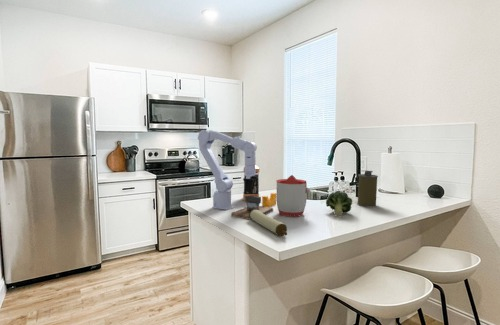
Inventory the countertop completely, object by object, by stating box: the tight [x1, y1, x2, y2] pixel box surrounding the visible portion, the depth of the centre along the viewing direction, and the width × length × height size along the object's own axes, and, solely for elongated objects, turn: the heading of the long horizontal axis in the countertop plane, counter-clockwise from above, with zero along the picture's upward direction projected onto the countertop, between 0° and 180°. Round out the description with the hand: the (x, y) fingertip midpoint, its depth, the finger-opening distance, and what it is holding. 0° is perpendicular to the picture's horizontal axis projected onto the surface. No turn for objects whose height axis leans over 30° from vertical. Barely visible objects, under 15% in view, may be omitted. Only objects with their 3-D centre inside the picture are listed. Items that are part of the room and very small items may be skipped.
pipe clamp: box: [261, 192, 277, 208], centre depth 166 cm, size 12×4×6 cm, turn 149°
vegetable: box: [325, 190, 353, 218], centre depth 149 cm, size 12×13×15 cm
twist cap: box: [245, 195, 262, 211], centre depth 148 cm, size 6×8×7 cm
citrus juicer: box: [275, 174, 312, 217], centre depth 147 cm, size 16×17×20 cm
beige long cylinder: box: [249, 209, 288, 237], centre depth 126 cm, size 32×6×5 cm, turn 25°
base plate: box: [231, 205, 274, 220], centre depth 149 cm, size 13×20×2 cm, turn 150°
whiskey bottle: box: [242, 165, 260, 202], centre depth 180 cm, size 10×10×32 cm
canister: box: [356, 170, 379, 208], centre depth 169 cm, size 11×10×20 cm
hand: (250, 190), depth 155 cm, fingers open, 7 cm apart
